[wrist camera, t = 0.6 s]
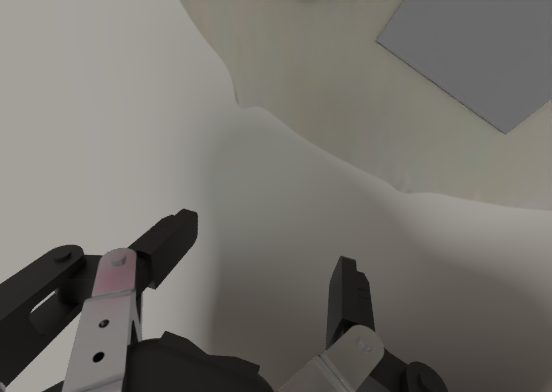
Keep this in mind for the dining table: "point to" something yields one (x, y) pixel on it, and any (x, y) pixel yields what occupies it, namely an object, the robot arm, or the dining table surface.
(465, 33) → the rubber mat
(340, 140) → the dining table surface
